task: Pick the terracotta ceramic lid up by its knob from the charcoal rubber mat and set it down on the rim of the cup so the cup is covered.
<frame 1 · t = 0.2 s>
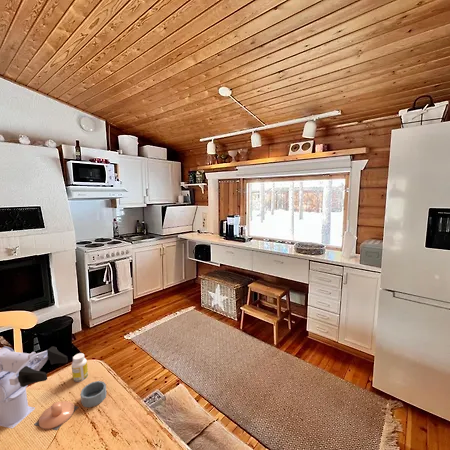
hand: (56, 367, 79), 21 cm above the table, tool horizontal, fingers open, 7 cm apart
mat: (57, 416, 86), on the table
lid: (57, 415, 86), point 1 cm above the table, touching mat
supplement bottle: (80, 378, 104), on the table
cup: (94, 399, 93), on the table
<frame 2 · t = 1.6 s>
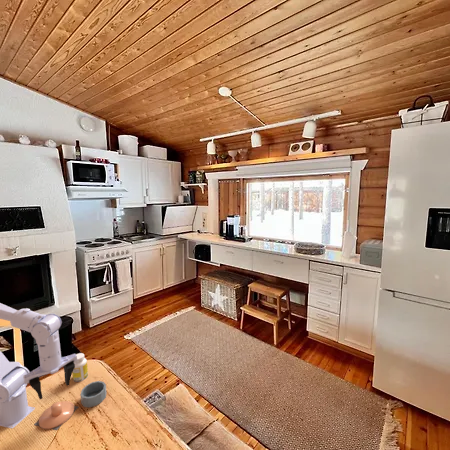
hand: (54, 390, 85), 10 cm above the table, tool pointing down, fingers open, 7 cm apart
nothing on the table moved.
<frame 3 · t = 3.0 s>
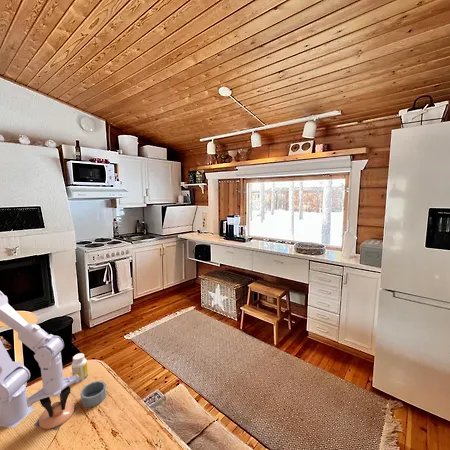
hand: (56, 411, 86), 2 cm above the table, tool pointing down, fingers closed on lid, 3 cm apart
lid: (57, 415, 86), point 1 cm above the table, touching gripper, mat
everything else where it was.
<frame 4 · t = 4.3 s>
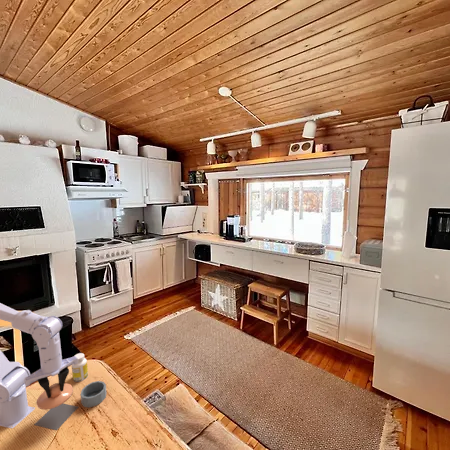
hand: (55, 392, 85), 9 cm above the table, tool pointing down, fingers closed on lid, 3 cm apart
lid: (55, 396, 85), point 8 cm above the table, touching gripper
everything else where it was.
when the fingers open (7 cm above the table, at t = 5.8 s): lid stays where it is, resting on cup.
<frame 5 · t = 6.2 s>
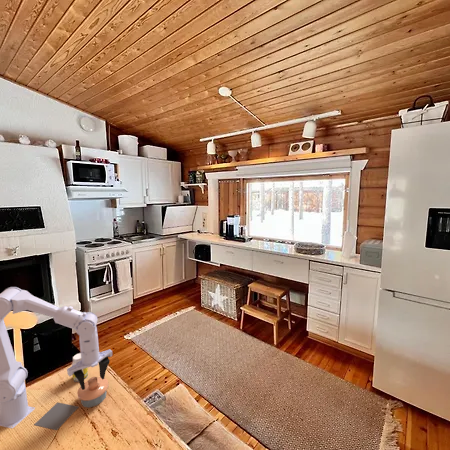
hand: (92, 382, 92), 7 cm above the table, tool pointing down, fingers open, 6 cm apart
lid: (93, 389, 93), point 4 cm above the table, touching cup
everything else where it was.
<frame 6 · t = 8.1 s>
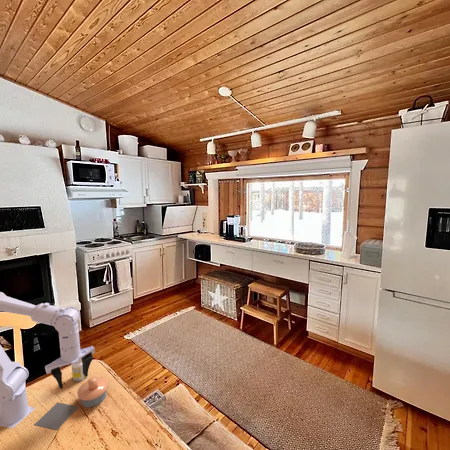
hand: (73, 380, 88), 10 cm above the table, tool pointing down, fingers open, 7 cm apart
nothing on the table moved.
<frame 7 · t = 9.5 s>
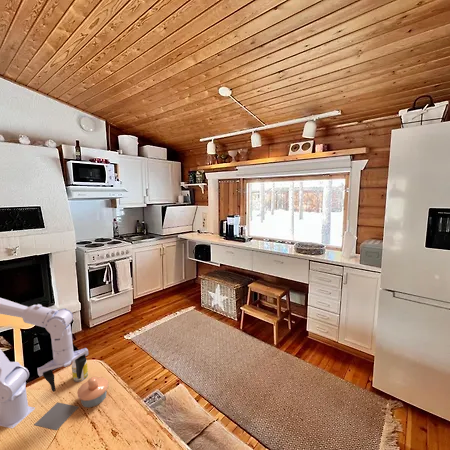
hand: (66, 383, 87), 10 cm above the table, tool pointing down, fingers open, 7 cm apart
nothing on the table moved.
at the end: lid 0.1 cm from the cup (horizontally); lid point 4.0 cm above the table; lid tilted 0° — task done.
